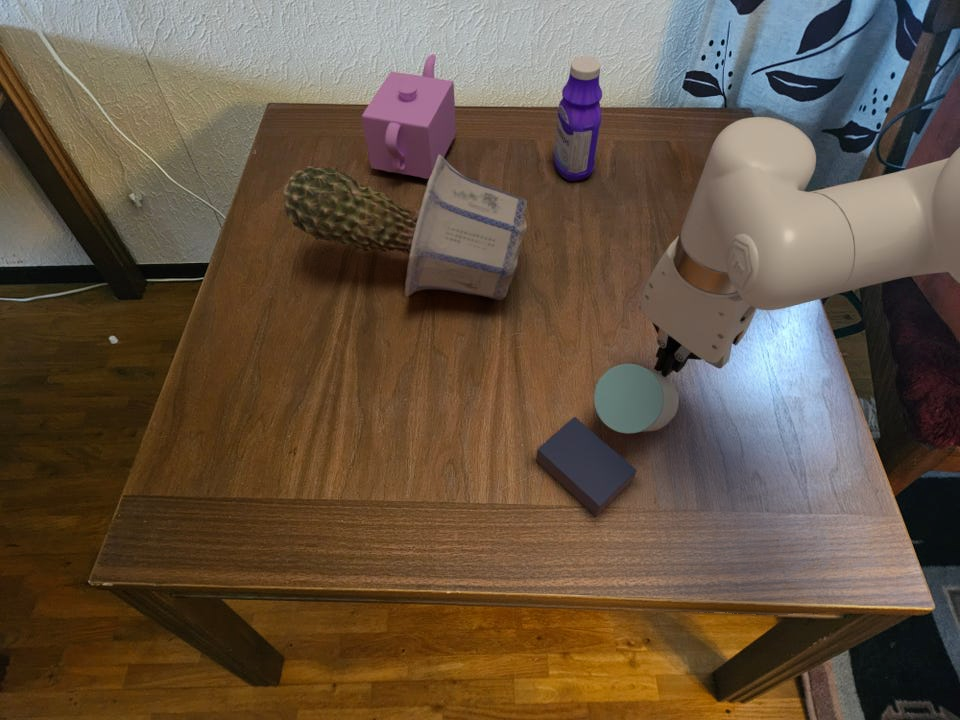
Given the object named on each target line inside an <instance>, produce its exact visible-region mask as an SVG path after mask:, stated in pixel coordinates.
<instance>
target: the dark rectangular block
mask: <svg viewBox="0 0 960 720" xmlns="http://www.w3.org/2000/svg"><path fill="white" fill-rule="evenodd" d="M535 457H536V458H535V462H536V463H537V464H538V465H539V466H540V467H541V468H543V470H545V471H546V472H547V473H548V474H549V475H550V476H551V477H552V478H553V479H555V480H556V482H557V483H559V484H560V485H561V486H562V487H563V488H564V489H565V490H566V491H567V492H568V493H570V494H571V496H573V497H574V498H575V499H576V500H577V501H578V502H579V503H580V504H581V505H582V506H583V507H585V508H586V510H587V511H589V512H590V513H591V514H592V515H593V516H594V517H595V518H597V517H598V516H599V515H600V514H601V513H602V512H603V511H604V510H605V509H606V508H607V507H608V506H609V505H610V504H611V503H612V502H613V501H614V500H615V499H616V498H617V497H618V496H619V495H620V494H622V492H623V491H625V489H627V488H628V486H630V485H631V483H633V480H634V479H635V476H636V474H637V471H638V470H637V468H636V467H634V466H633V465H632V464H631V463H630V462H628V461H627V460H626V459H625V458H624V457H622V456H621V455H620V454H619V453H617V451H616V450H614V449H613V448H612V447H611V446H609V444H607V442H605V441H604V440H603V439H602V438H600V437H599V436H598V435H597V434H596V433H595V432H594V431H592V430H591V429H590V428H589V427H588V426H586V425H585V424H584V423H583V422H582V421H580V419H578V418H577V417H576V416H573V417H572V418H571V419H570V420H568V421H567V423H566V424H564V425H563V426H562V427H561V428H559V429H558V431H556V432H555V433H554V434H552V436H551V437H549V438H548V439H547V440H546V441H545V442H544V443H542V444H541V445H540V446H539V447H538V448H537V449H536V456H535Z"/></svg>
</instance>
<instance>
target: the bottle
mask: <svg viewBox="0 0 960 720" xmlns="http://www.w3.org/2000/svg"><path fill="white" fill-rule="evenodd" d="M601 66H602V64H601V62H600V60H598V59H597V58H595V57H593V56H589V55H582V56H581V55H580V56H577V57H575V58H572V60H571V62H570V68H569V75H568V79H567V82H566V84H565V85H564V86H563V87H562V90H561V95H562V98H561V99H560V101H559V104H558V108H557V121H556V132H555V141H554V152H553V162H554V166H555V168H556V170H557V172H558V173H559V175H561V176H562V178H564V179H565V180H567V181H570V182H571V181H574V182H575V181H581V180H584V179H587V178H589V177H591V175H592V173H593V172H594V170H595V165H596V164H595V163H596V156H597V150H598V143H599V138H600V137H599V136H600V132H601V131H600V130H601V125H602V108H601V100H602V98H603V90H602V88H601V85H600V75H601V68H602V67H601Z"/></svg>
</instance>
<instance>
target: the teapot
mask: <svg viewBox="0 0 960 720" xmlns="http://www.w3.org/2000/svg"><path fill="white" fill-rule="evenodd" d="M436 60H437V56H436V55H435V54H430V55H429V56H428V57H427V58H426V60H425V62H424V65H423V71H422V74H421V75H417V74H411V73H404V72H398V71H392V70H391V71H390V72H389V74H388V75H387V76H386V78H385V80H384V81H383V82H382V84H381V85H380V86H379V88H378V90H377V91H376V93H375V94H374V96H373V98H372V99H371V101H370V102H369V104H368V105H367V107H366V108H365V110H364V111H363V113H362V115H361V122H362V123H361V124H362V128H363V133H364V138H365V144H366V149H367V154H368V160H369V166H370V169H375V170H379V171H385V172H387V173H396V174H401V175H407V176H413V177H416V178H417V177H418V178H421V179H424V180H429V178H430V176H431V174H432V171H433V168H434V166H435V163H436V160H437V157H438V155H441V156H442V157H443V158H444V159H445V156H446V154H447V152H448V150H449V148H450V146H451V144H452V142H453V141H454V138H455V136H456V134H457V123H456V104H455V103H456V101H455V84H454V80H448V79H442V78H436V77H435V65H436Z"/></svg>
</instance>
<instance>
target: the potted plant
mask: <svg viewBox="0 0 960 720" xmlns="http://www.w3.org/2000/svg"><path fill="white" fill-rule="evenodd" d="M283 187H284V188H283V206H282V207H283V209H284V212H285V215H286V218H287V219H290V220H291V221H292V224H293V226H294V227H296V228H298V229H299V230H300V231H302V232H305V233H306V234H308V235H311V236H312V237H314V238H315V240H318V239H319V240H321V241H328V242H331V241H333V242H337V243H340V244H342V245H347V246H351V247H353V248H354V249H355V251H357V250H361V251H363V252H368V251H370V252H372V251H373V250H379V251H381V252H382V253H386V252H391V251H392V252H393V251H398V252H401V253H404V254H406V256H408V261H407V269H406V277H405V285H404V287H405V288H404V297H407V298H408V297H410V296H412V295H413V294H414V293H416V292H419V291H422V290H444V291H451V292H456V293H461V294H462V293H463V294H468V295H475V296H482V297H487V298H490V299H492V300H499V301H502V300H504V299H505V297H506V296H507V295H508V292H509V289H510V286H511V285H512V280H513V279H514V277H515V275H516V271H517V267H518V264H519V263H518V261H519V257H520V252H521V248H522V245H523V240H524V235H525V233H526V231H527V225H528V224H527V218H526V216H527V215H526V213H527V209H528V205H529V203H528V200H526V199H525V198H522V197H519V196H517V195H516V196H515V195H513V194H511V193H508V192H505V191H503V190H500V189H497V188H495V187H492V186H489V185H485V184H482V183H480V182H477V181H475V180H472V179H470V178H468V177H466V176H465V175H463V174H462V173H460V172H459V170H457V169H456V168H455V167H453V166H452V165H451V164H450V163H449V162H448V161H447V159H445V157H444V158H443V157H442V156H441V155H438V157H437V160H436V163H435V166H434V168H433V171H432V174H431V176H430V178H429V179H428V180H427V183H426V188H425V191H424V194H423V198H422V202H421V204H420V205H419V207H417V208H416V209H415V210H412V211H411V210H410V209H408V208H406V207H405V206H403V205H401V204H400V203H398V202H396V201H395V200H394V199H393V197H392V196H390V195H388V194H385V192H380V191H378V190H376V189H374V188H373V187H372V186H371V185H369V186H368V185H363V184H361V181H359V180H357V179H355V178H354V176H353V175H352V174H347V173H346V172H345V173H344V172H343V171H339V170H338V166H332V167H324V166H321V167H318V166H311V165H310V166H309V165H307V167H305V168H304V169H300V170H297V171H295V172H294V173H293V174H292V175H291V176H290V177H289V179H288V182H287V183H286V184H285V186H283Z"/></svg>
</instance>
